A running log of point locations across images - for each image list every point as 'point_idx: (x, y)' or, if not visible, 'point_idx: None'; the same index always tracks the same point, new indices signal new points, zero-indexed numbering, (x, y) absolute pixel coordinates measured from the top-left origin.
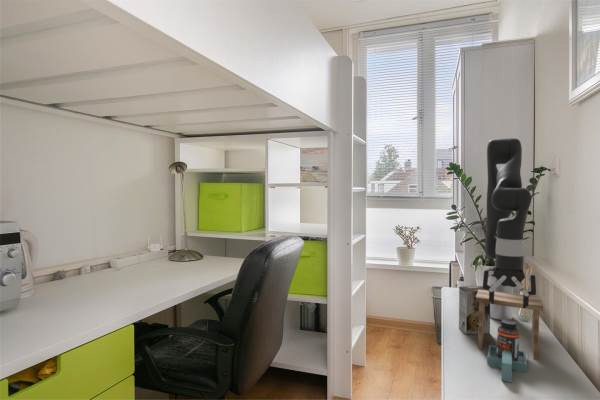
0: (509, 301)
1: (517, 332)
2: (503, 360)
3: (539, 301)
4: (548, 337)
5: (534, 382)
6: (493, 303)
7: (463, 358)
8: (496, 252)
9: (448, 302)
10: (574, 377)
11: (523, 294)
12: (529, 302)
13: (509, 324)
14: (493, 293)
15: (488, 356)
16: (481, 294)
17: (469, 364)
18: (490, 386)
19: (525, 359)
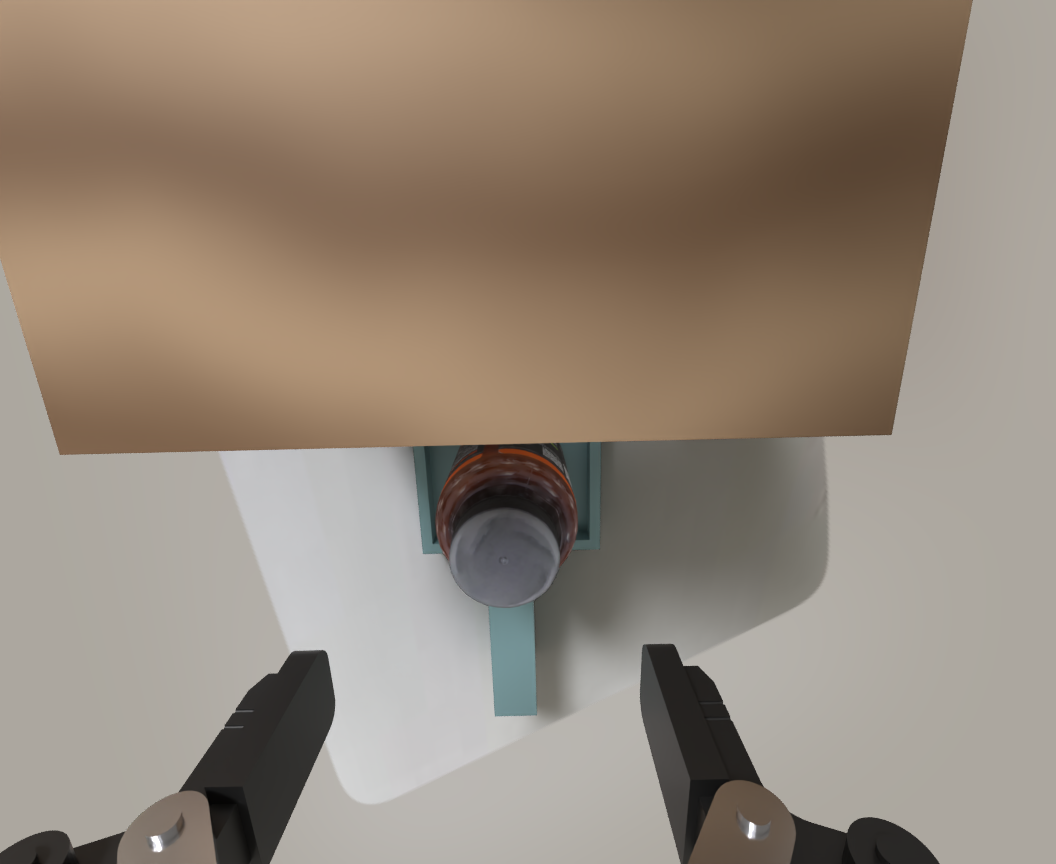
0: (488, 426)
1: (567, 556)
2: (500, 691)
3: (904, 181)
4: None
5: (620, 606)
6: (329, 718)
7: (321, 528)
8: None
9: None
10: (791, 475)
11: (693, 786)
12: (744, 332)
13: (512, 605)
14: (264, 860)
15: (426, 550)
16: (65, 241)
17: (360, 576)
18: (466, 712)
19: (597, 491)
